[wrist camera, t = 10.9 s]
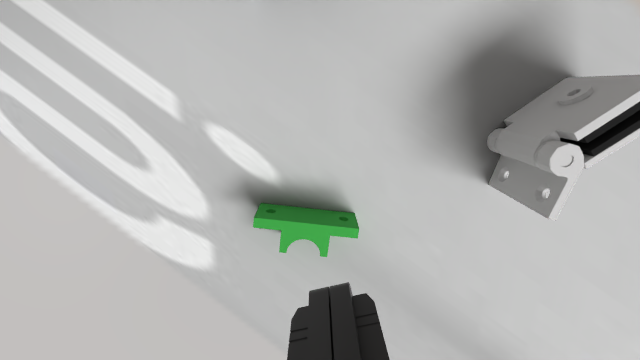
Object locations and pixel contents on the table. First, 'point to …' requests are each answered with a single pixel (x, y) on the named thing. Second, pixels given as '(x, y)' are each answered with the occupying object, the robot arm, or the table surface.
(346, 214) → the pipe clamp
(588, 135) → the hinge
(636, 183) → the table surface
